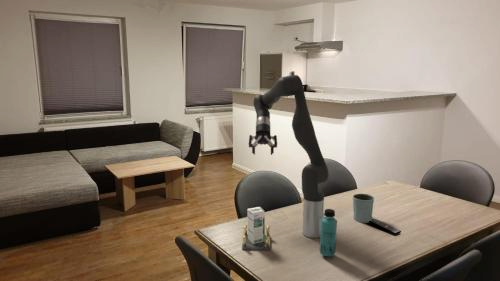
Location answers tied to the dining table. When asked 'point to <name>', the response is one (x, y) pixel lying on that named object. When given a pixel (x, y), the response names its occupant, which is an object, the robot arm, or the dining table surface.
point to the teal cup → (363, 207)
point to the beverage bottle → (328, 233)
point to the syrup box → (256, 225)
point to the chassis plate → (257, 246)
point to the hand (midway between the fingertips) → (262, 153)
